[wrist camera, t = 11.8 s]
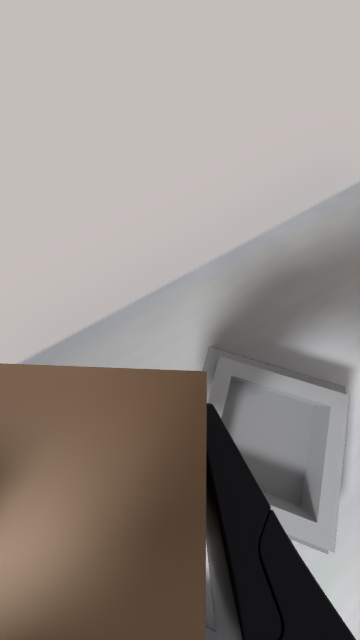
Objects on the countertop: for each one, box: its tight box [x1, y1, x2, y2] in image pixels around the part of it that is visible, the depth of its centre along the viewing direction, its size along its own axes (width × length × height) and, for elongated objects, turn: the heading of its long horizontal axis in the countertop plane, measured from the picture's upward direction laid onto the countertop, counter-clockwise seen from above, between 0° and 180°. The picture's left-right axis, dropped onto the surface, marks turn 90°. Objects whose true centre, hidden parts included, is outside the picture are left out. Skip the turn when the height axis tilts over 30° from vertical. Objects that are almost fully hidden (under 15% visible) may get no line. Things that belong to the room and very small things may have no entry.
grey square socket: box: [203, 347, 349, 554], centre depth 18 cm, size 12×12×3 cm
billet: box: [0, 364, 207, 640], centre depth 9 cm, size 4×4×11 cm
